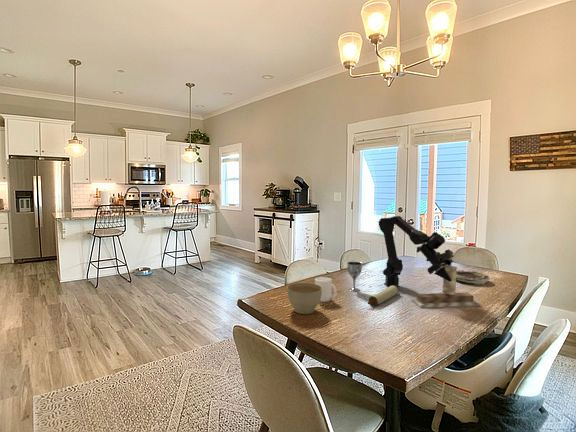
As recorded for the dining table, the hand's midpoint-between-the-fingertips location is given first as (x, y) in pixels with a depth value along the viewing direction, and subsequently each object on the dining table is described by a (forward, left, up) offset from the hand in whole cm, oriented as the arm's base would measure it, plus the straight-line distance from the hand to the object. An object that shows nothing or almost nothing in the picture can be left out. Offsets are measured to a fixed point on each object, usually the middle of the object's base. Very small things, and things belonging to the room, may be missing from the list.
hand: (452, 280), depth 164 cm
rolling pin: (-30, +9, -12) cm, 34 cm away
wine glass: (-41, +26, -12) cm, 50 cm away
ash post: (-1, +1, -7) cm, 7 cm away
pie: (+34, +37, -13) cm, 52 cm away
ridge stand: (-3, +1, -12) cm, 12 cm away
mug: (-60, +11, -12) cm, 62 cm away
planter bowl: (-73, -2, -12) cm, 74 cm away
